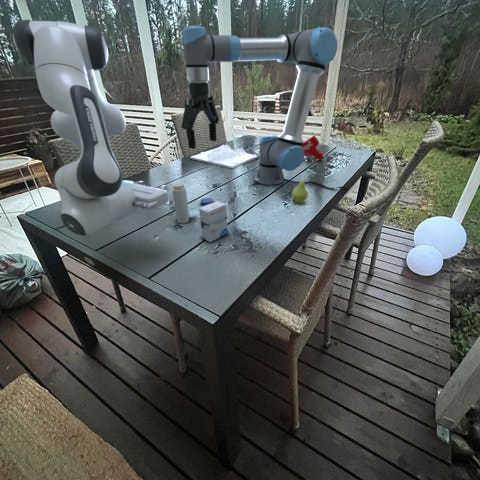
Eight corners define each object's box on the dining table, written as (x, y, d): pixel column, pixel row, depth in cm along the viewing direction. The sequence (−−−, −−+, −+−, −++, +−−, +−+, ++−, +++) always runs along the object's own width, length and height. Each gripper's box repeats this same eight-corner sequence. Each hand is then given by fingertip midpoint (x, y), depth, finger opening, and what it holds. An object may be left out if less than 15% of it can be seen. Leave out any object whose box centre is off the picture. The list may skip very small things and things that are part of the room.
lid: (208, 200, 124) (208, 196, 123) (216, 203, 121) (215, 200, 120) (198, 203, 121) (198, 200, 120) (206, 207, 117) (205, 204, 116)
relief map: (232, 168, 162) (231, 159, 159) (190, 158, 179) (189, 150, 177) (257, 157, 180) (257, 149, 177) (217, 149, 198) (217, 142, 195)
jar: (184, 224, 105) (179, 187, 97) (174, 221, 107) (168, 185, 99) (192, 218, 109) (187, 183, 101) (181, 216, 111) (176, 181, 103)
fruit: (288, 200, 123) (290, 174, 116) (302, 197, 125) (305, 172, 119) (296, 206, 118) (299, 179, 111) (310, 203, 120) (314, 177, 114)
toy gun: (327, 155, 171) (315, 134, 168) (326, 157, 168) (314, 136, 164) (302, 170, 182) (290, 151, 178) (301, 172, 178) (289, 152, 174)
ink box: (219, 228, 102) (217, 199, 95) (228, 233, 99) (227, 204, 92) (201, 237, 97) (198, 207, 90) (210, 242, 94) (207, 212, 87)
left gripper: (146, 197, 73) (178, 181, 83) (94, 185, 81) (129, 171, 91) (151, 218, 76) (181, 200, 87) (100, 204, 84) (133, 189, 94)
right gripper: (210, 80, 106) (213, 137, 118) (165, 83, 88) (174, 150, 100) (226, 80, 103) (228, 138, 114) (183, 84, 85) (190, 152, 96)
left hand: (154, 185), depth 89 cm, fingers open, 8 cm apart
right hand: (203, 144), depth 107 cm, fingers open, 13 cm apart
